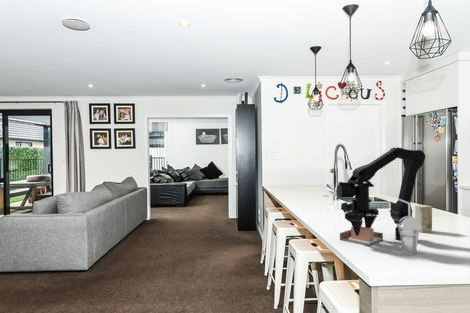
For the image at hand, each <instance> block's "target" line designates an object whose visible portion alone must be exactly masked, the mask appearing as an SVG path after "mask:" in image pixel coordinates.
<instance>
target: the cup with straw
mask: <svg viewBox="0 0 470 313" xmlns="http://www.w3.org/2000/svg"><path fill="white" fill-rule="evenodd" d="M398 200H399V201H402V202H405V203H407V204H408V216H405V217H403V218H401V219H400V221H399V223H398V224H396V228H397V227H398V228H399V232H400V237H401V240H400V242H401V250H402V253H403V254H405V255H413V256H414V255H416V254H417V249H418V240H419V234H420V232H419V230H420V229H422V227H421V225H419V222H418V221H417V219H415V216H414V217H413V216H412V217H411V216H410V205H411V202H410V203H409V202H407V201H404V200H402V199H399V197H398V198H397V201H398Z"/></svg>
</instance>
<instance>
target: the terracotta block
mask: <svg viewBox="0 0 470 313" xmlns="http://www.w3.org/2000/svg"><path fill="white" fill-rule="evenodd" d="M350 230H351V239H356V240H361V241H366V242H371V241H373V240H374V232H375V231H374V228H373V227H371V228H367V227H365V226H361V229H360V232H359V235H358V236H356V235H355V232H354V229H353V226H351V229H350Z"/></svg>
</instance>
